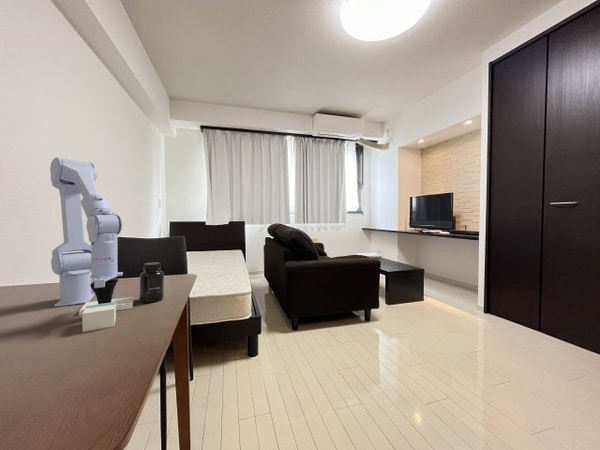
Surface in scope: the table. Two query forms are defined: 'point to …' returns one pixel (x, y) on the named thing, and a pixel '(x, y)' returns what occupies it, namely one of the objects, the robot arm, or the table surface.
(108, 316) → the teal striped cube
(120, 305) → the ticket
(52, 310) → the table surface
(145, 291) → the supplement bottle
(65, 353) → the table surface
